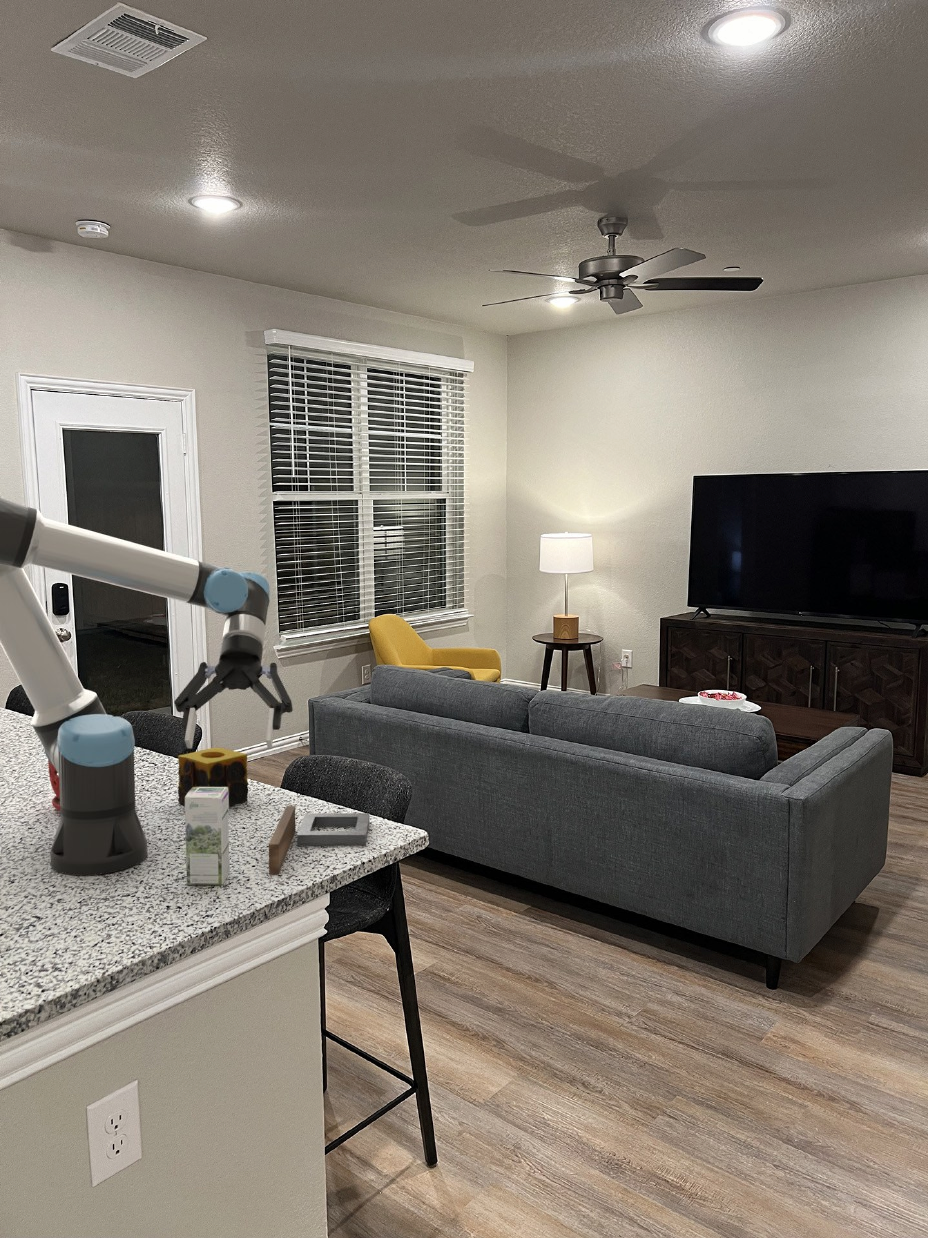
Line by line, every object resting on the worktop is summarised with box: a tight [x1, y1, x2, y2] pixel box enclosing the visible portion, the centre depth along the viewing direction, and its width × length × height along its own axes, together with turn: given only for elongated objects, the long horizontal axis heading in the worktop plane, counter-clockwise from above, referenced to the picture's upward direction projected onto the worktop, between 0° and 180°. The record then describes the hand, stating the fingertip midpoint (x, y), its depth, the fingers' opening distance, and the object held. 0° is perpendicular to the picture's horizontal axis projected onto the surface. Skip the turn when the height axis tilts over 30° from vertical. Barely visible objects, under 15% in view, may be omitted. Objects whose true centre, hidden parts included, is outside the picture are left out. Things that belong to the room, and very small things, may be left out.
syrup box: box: [184, 787, 231, 886], centre depth 148 cm, size 6×6×14 cm
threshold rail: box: [268, 805, 296, 875], centre depth 161 cm, size 2×20×5 cm, turn 3°
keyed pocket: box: [296, 812, 371, 847], centre depth 171 cm, size 12×12×2 cm
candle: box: [177, 746, 249, 808], centre depth 188 cm, size 10×10×10 cm
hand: (228, 744), depth 160 cm, fingers open, 13 cm apart
